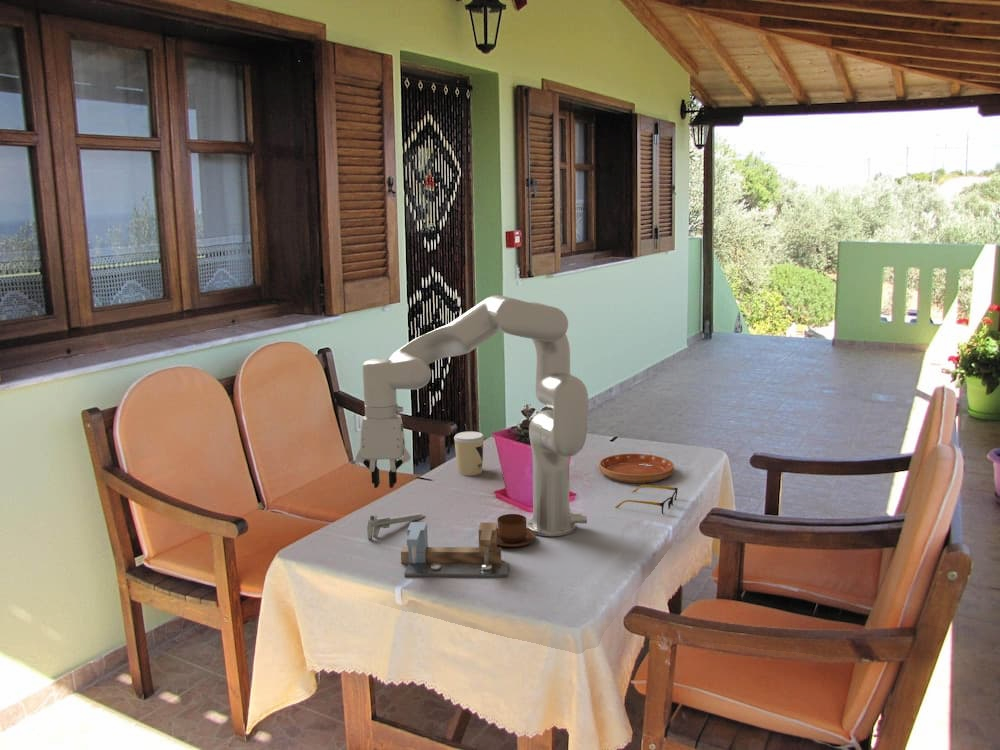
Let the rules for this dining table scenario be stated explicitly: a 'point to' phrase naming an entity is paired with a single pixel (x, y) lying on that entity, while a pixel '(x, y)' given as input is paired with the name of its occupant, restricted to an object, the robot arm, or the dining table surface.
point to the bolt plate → (456, 570)
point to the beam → (465, 550)
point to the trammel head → (417, 542)
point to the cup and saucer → (513, 531)
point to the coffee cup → (469, 452)
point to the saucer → (636, 467)
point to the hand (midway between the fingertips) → (384, 485)
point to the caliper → (387, 522)
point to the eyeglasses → (654, 502)
